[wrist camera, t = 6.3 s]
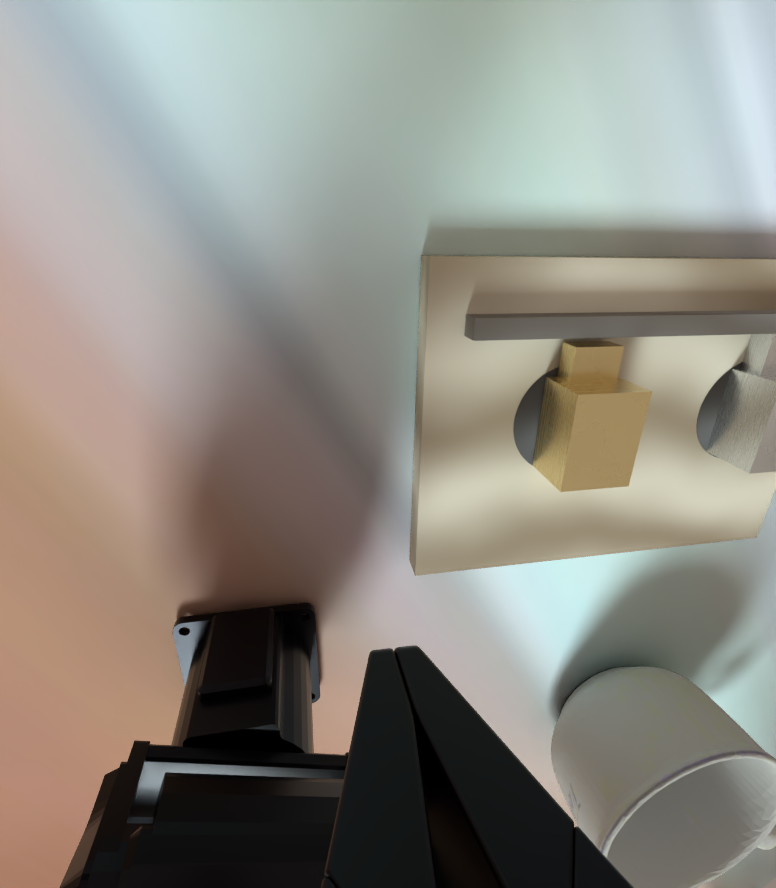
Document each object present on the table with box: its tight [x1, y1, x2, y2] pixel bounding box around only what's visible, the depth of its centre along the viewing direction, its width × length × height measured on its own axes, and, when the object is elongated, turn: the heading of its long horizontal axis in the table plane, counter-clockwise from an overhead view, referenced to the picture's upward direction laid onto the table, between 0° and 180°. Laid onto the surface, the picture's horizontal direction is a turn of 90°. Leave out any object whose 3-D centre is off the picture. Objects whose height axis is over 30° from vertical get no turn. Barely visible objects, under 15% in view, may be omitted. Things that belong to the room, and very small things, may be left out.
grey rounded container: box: [551, 667, 776, 888], centre depth 28 cm, size 14×11×8 cm
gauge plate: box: [409, 255, 776, 576], centre depth 21 cm, size 14×19×2 cm
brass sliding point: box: [533, 341, 652, 492], centre depth 19 cm, size 5×3×2 cm, turn 179°
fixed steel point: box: [706, 334, 776, 474], centre depth 21 cm, size 6×3×2 cm, turn 179°
